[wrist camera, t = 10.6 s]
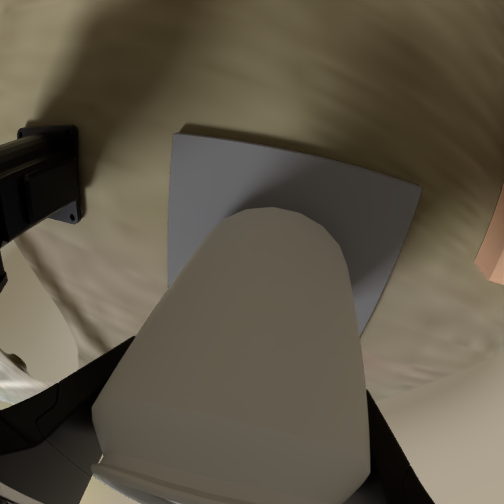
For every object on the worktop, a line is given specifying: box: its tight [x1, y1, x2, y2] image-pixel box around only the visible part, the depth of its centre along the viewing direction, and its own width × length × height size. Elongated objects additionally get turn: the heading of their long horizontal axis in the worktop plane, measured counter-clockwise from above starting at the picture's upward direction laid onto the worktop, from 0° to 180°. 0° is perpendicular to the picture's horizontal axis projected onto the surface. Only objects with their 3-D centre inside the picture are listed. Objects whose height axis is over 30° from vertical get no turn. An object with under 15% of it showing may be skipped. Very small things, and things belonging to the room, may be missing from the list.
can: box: [90, 207, 370, 504], centre depth 9 cm, size 8×8×12 cm
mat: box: [168, 133, 423, 336], centre depth 15 cm, size 12×12×1 cm
